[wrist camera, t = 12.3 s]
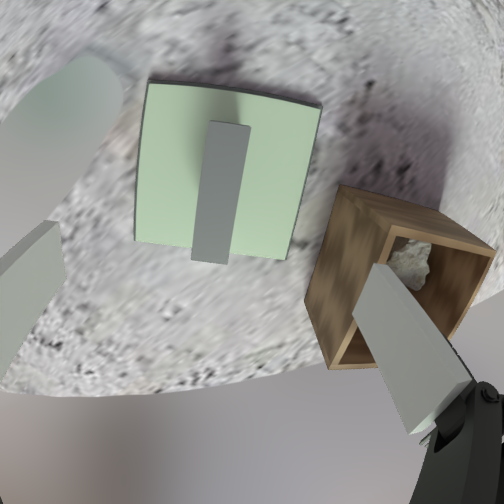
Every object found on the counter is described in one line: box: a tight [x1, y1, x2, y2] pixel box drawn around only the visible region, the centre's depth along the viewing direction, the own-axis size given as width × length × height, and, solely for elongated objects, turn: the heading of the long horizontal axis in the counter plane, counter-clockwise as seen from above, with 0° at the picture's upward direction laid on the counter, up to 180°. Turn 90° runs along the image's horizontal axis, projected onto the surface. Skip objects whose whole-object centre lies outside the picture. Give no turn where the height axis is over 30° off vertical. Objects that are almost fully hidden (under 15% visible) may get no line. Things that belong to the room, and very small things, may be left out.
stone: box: [385, 236, 431, 291], centre depth 33 cm, size 8×10×6 cm
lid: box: [136, 84, 320, 265], centre depth 25 cm, size 17×17×9 cm
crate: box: [304, 184, 497, 370], centre depth 30 cm, size 16×16×12 cm
